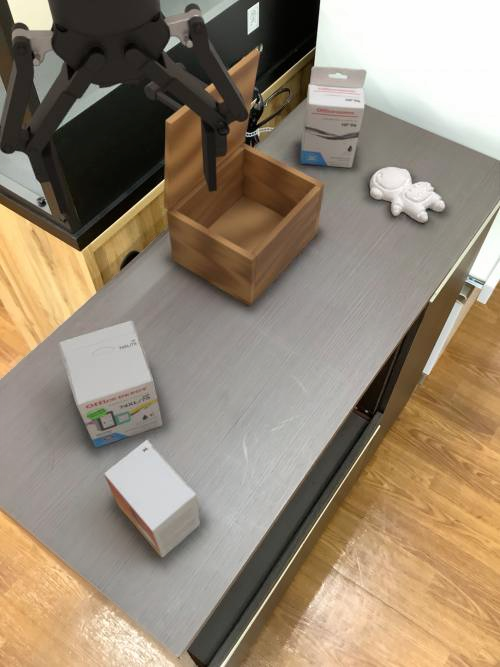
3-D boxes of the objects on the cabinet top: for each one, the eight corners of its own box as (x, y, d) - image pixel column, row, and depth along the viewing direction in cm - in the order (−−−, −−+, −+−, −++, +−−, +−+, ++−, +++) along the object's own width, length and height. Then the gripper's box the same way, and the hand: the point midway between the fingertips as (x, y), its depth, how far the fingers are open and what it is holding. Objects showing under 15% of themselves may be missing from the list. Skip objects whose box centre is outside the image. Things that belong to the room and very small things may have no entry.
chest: (316, 233, 93) (324, 183, 85) (250, 307, 85) (252, 260, 77) (242, 193, 97) (242, 142, 89) (172, 260, 89) (166, 211, 81)
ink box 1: (94, 449, 74) (73, 405, 64) (78, 390, 78) (56, 340, 68) (164, 426, 75) (154, 379, 66) (144, 368, 80) (132, 317, 70)
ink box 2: (299, 165, 101) (309, 85, 88) (300, 144, 103) (309, 64, 91) (352, 168, 101) (369, 89, 88) (352, 148, 103) (368, 68, 91)
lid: (260, 51, 75) (204, 17, 77) (171, 123, 68) (111, 84, 69) (245, 141, 88) (197, 110, 90) (168, 210, 81) (117, 175, 82)
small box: (117, 505, 70) (100, 472, 61) (157, 473, 72) (146, 436, 63) (162, 560, 67) (151, 533, 58) (202, 525, 69) (197, 493, 60)
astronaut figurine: (410, 232, 93) (415, 218, 91) (357, 185, 98) (361, 171, 96) (451, 208, 96) (457, 193, 94) (398, 163, 101) (402, 149, 99)
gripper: (-113, 2, 36) (1, 243, 54) (297, -40, 40) (278, 200, 58) (-105, -61, 40) (-1, 183, 58) (269, -93, 44) (258, 146, 62)
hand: (138, 192), depth 58 cm, fingers open, 13 cm apart
